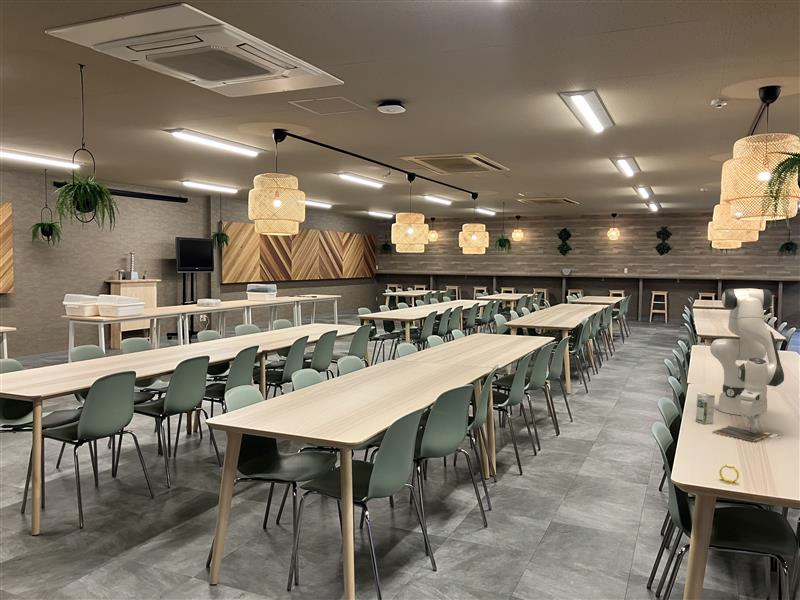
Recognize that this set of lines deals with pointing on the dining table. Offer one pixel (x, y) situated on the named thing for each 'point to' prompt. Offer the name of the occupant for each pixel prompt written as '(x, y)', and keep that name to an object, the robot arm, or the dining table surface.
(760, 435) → the brown slatted mat
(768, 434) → the word card
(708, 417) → the syrup box
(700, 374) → the dining table surface
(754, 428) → the small white bottle
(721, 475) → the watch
